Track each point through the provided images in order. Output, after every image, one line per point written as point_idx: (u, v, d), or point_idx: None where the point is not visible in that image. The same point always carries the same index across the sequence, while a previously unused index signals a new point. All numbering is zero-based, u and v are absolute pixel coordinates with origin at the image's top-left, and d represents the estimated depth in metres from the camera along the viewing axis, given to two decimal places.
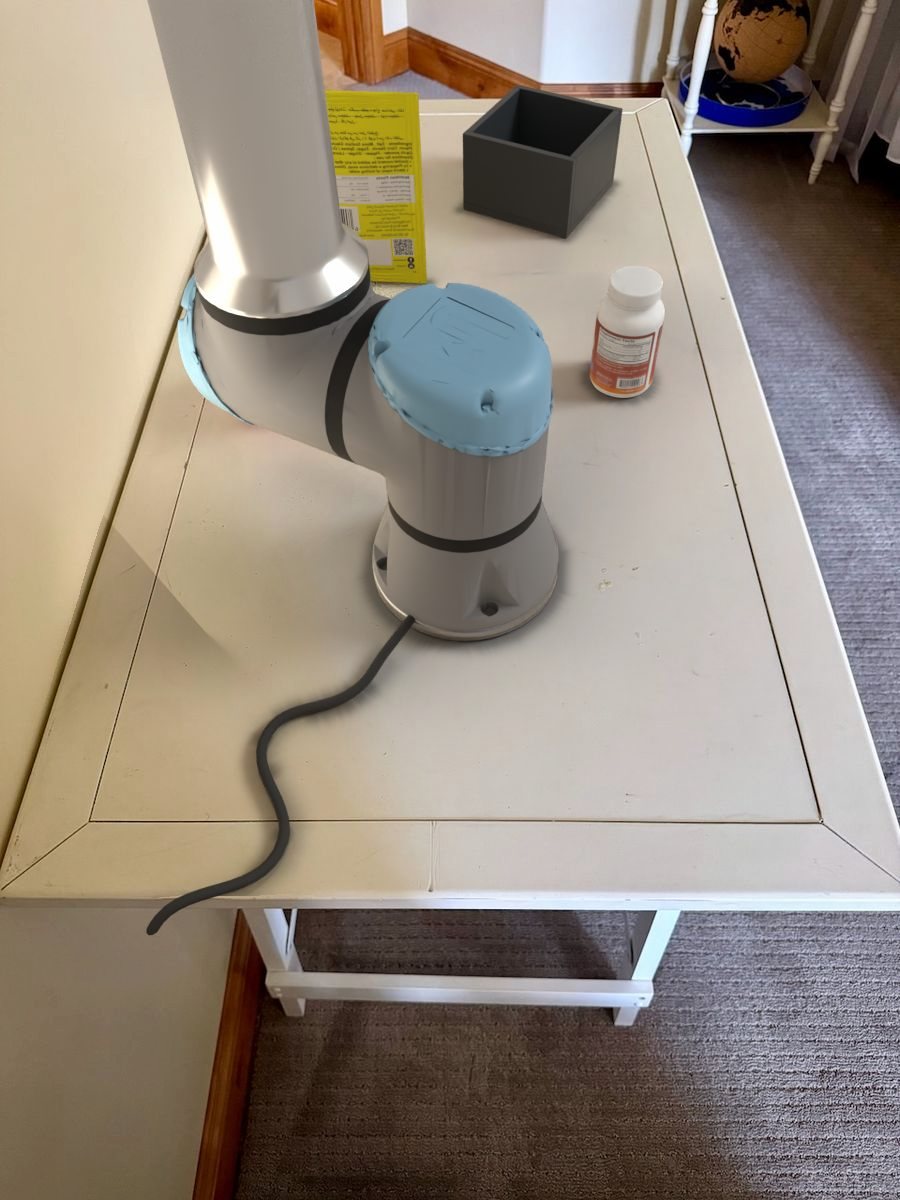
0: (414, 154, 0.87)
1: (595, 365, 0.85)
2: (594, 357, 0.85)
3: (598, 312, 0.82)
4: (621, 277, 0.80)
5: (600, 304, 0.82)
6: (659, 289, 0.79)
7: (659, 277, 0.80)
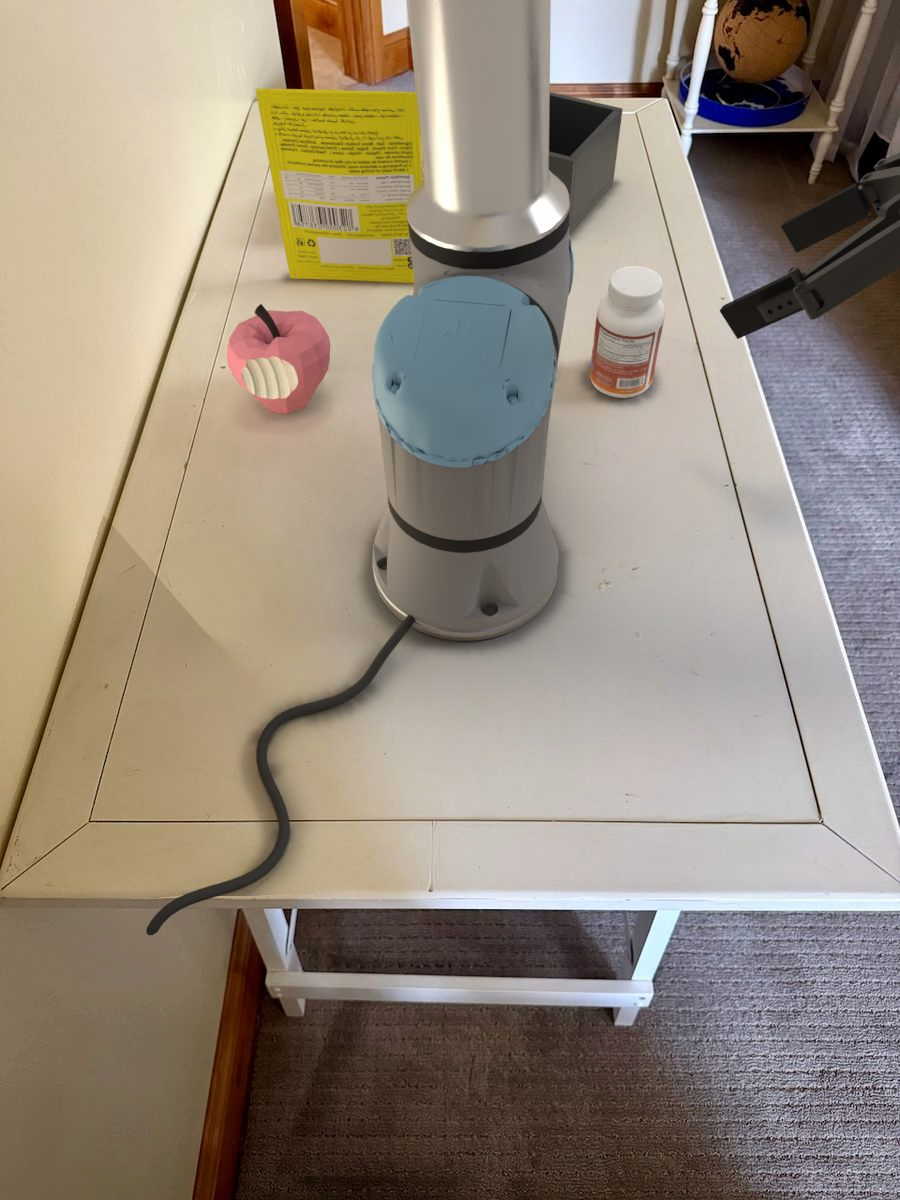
0: (414, 154, 0.87)
1: (595, 365, 0.85)
2: (594, 357, 0.85)
3: (598, 312, 0.82)
4: (621, 277, 0.80)
5: (600, 304, 0.82)
6: (659, 289, 0.79)
7: (659, 277, 0.80)
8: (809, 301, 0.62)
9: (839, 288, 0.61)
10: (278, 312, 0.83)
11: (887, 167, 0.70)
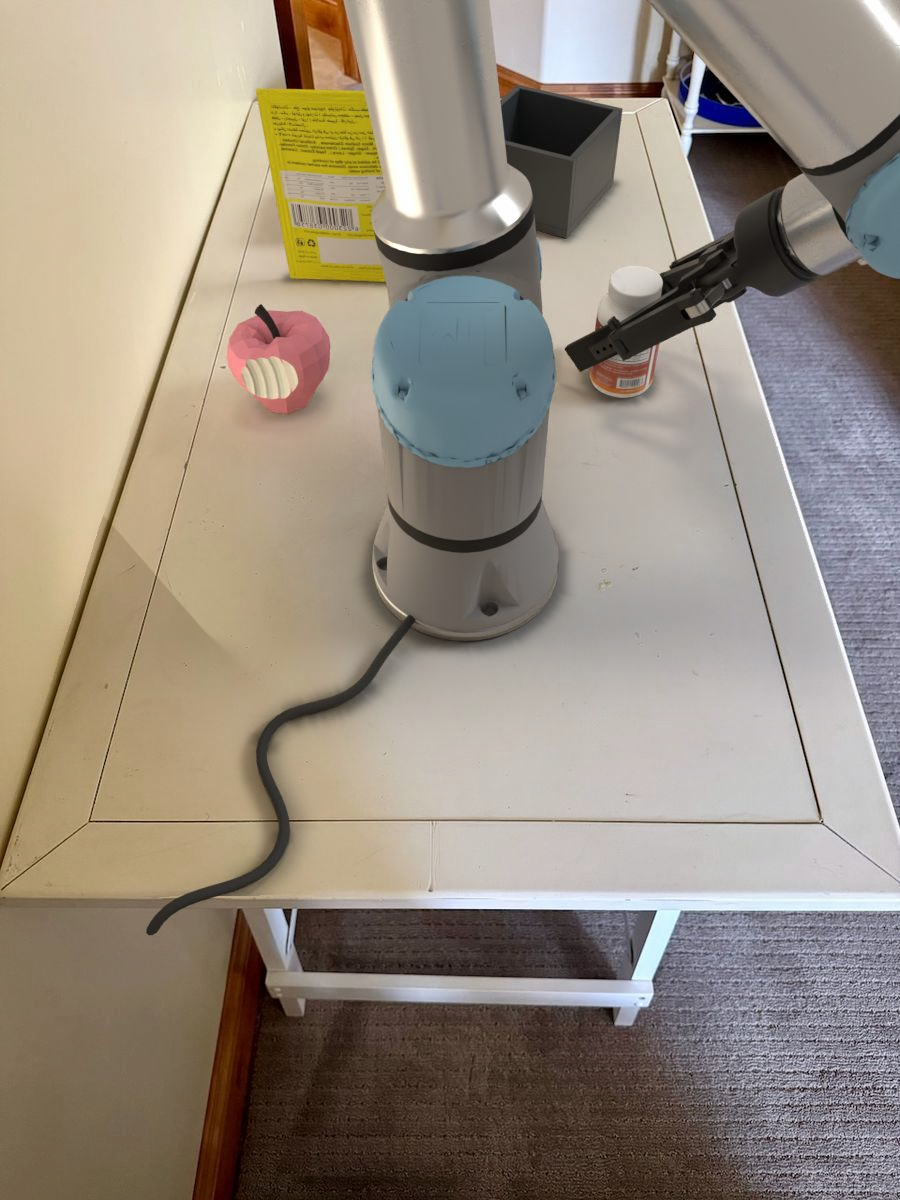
0: None
1: (595, 365, 0.85)
2: None
3: (598, 312, 0.82)
4: (621, 277, 0.80)
5: (600, 304, 0.82)
6: (659, 289, 0.79)
7: (659, 277, 0.80)
8: (617, 347, 0.77)
9: (637, 342, 0.76)
10: (278, 312, 0.83)
11: None
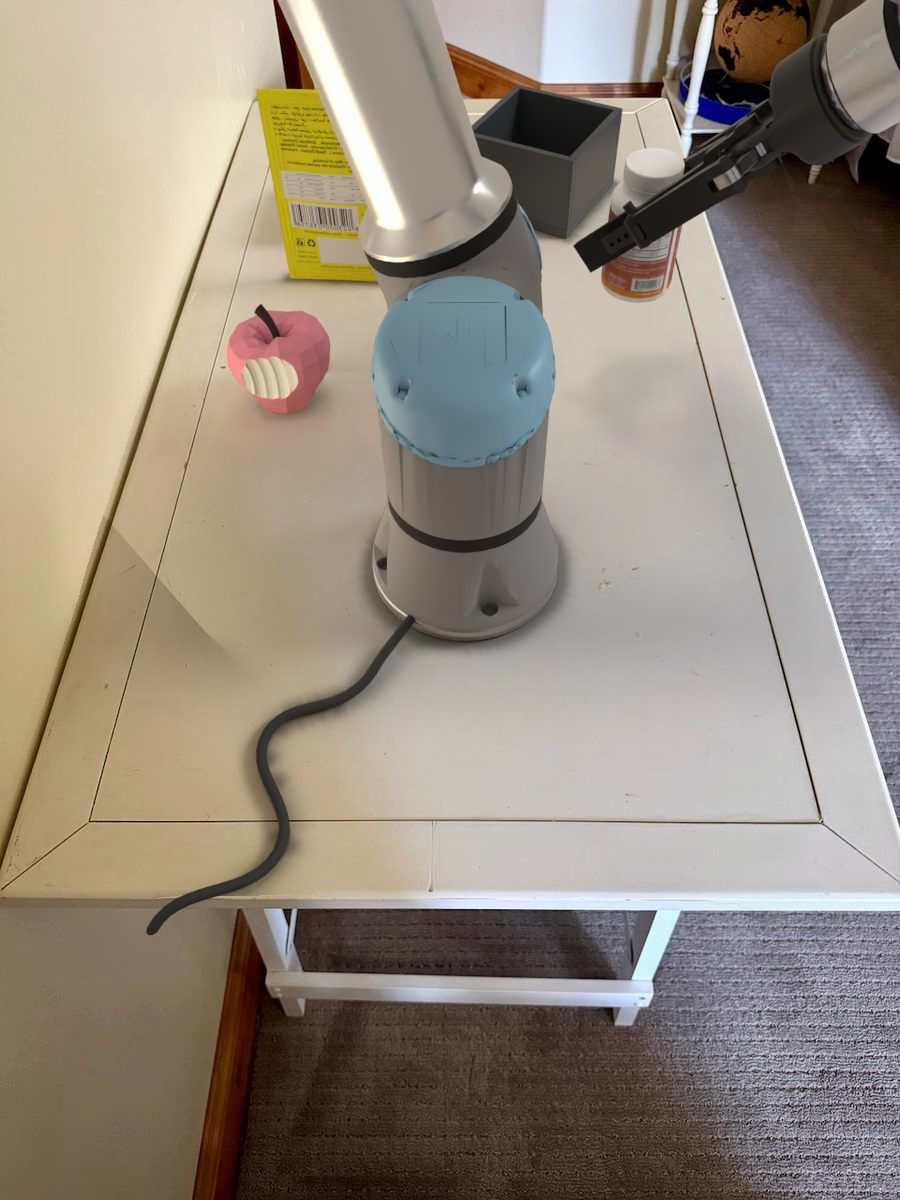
0: None
1: (608, 265, 0.77)
2: None
3: (612, 201, 0.74)
4: (638, 159, 0.71)
5: (614, 192, 0.73)
6: (681, 171, 0.70)
7: (680, 159, 0.71)
8: (634, 233, 0.69)
9: (657, 224, 0.67)
10: (278, 312, 0.83)
11: None
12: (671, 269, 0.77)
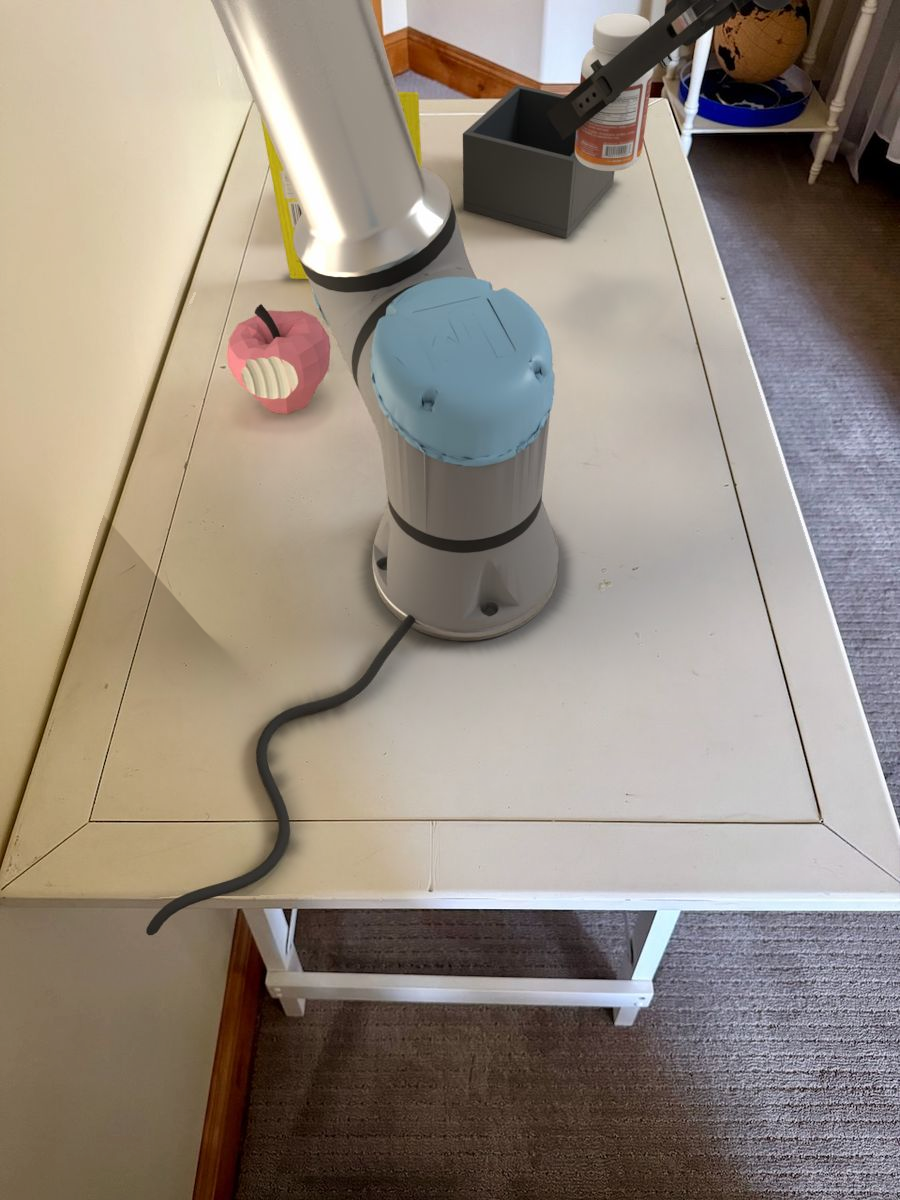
0: None
1: (580, 133, 0.80)
2: None
3: (582, 66, 0.77)
4: (607, 21, 0.75)
5: (584, 57, 0.77)
6: None
7: (647, 21, 0.75)
8: (600, 87, 0.72)
9: (621, 76, 0.71)
10: (278, 312, 0.83)
11: None
12: (641, 136, 0.80)
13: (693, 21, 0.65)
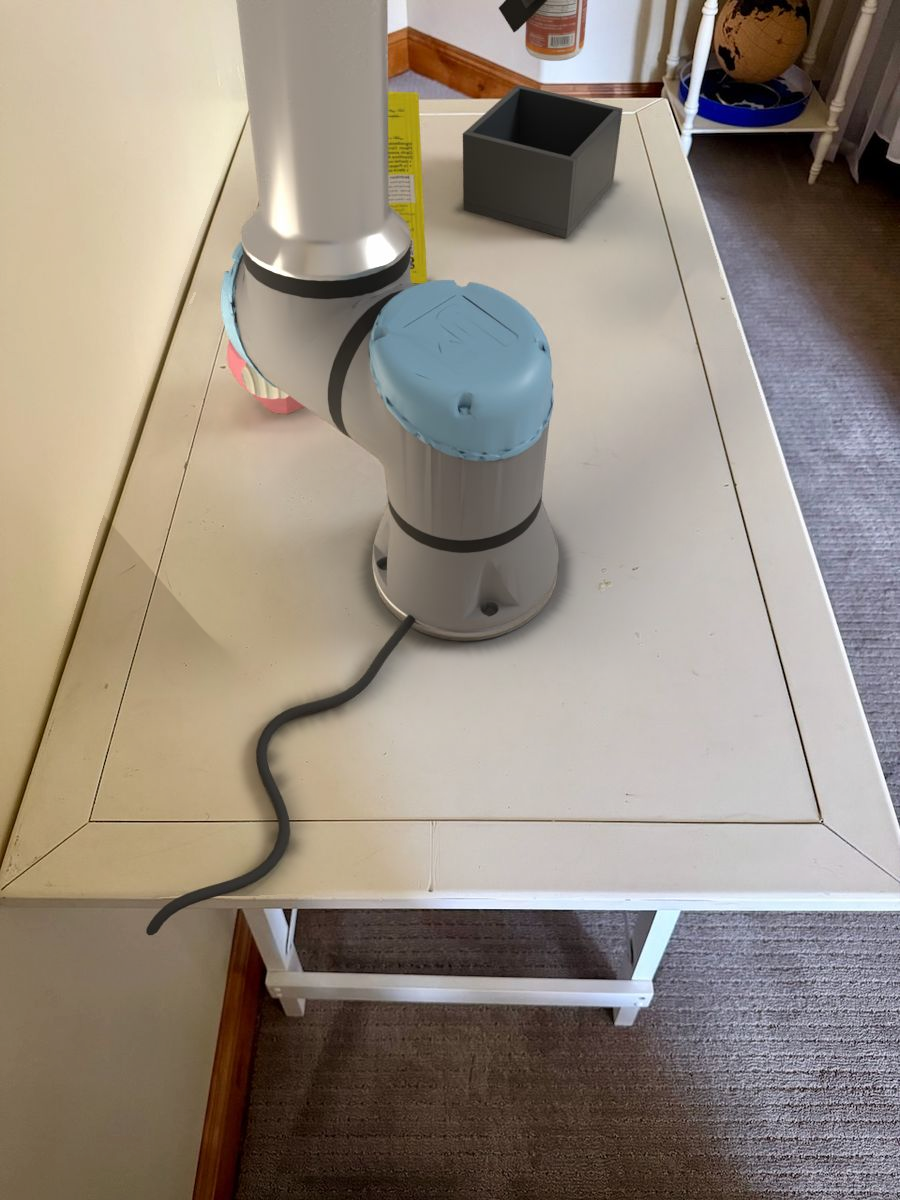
0: (414, 154, 0.87)
1: (529, 26, 0.92)
2: None
3: None
4: None
5: None
6: None
7: None
8: None
9: None
10: None
11: None
12: (581, 29, 0.92)
13: None
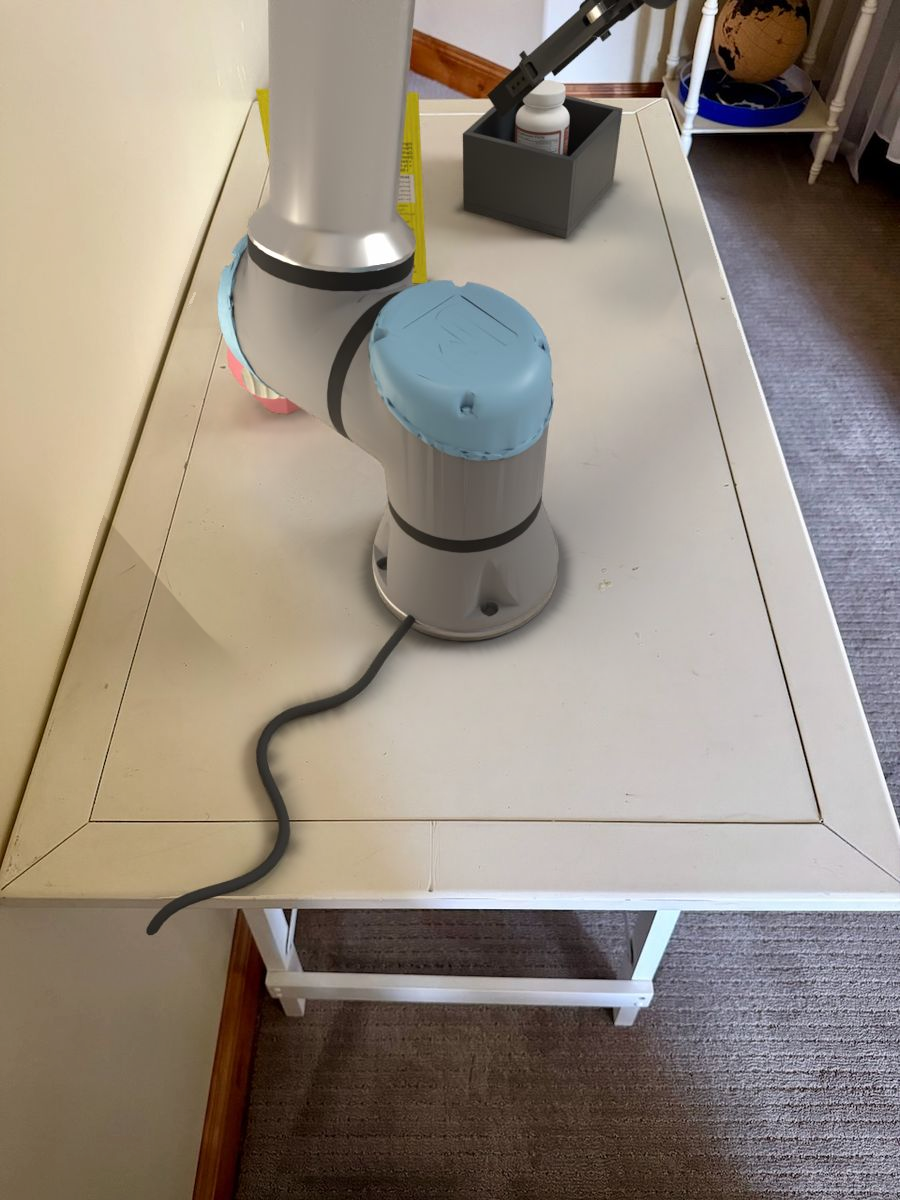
0: (414, 154, 0.87)
1: None
2: None
3: (516, 118, 1.02)
4: None
5: None
6: (562, 91, 0.99)
7: (563, 85, 1.00)
8: (528, 71, 0.89)
9: (545, 61, 0.88)
10: None
11: None
12: None
13: (605, 11, 0.84)
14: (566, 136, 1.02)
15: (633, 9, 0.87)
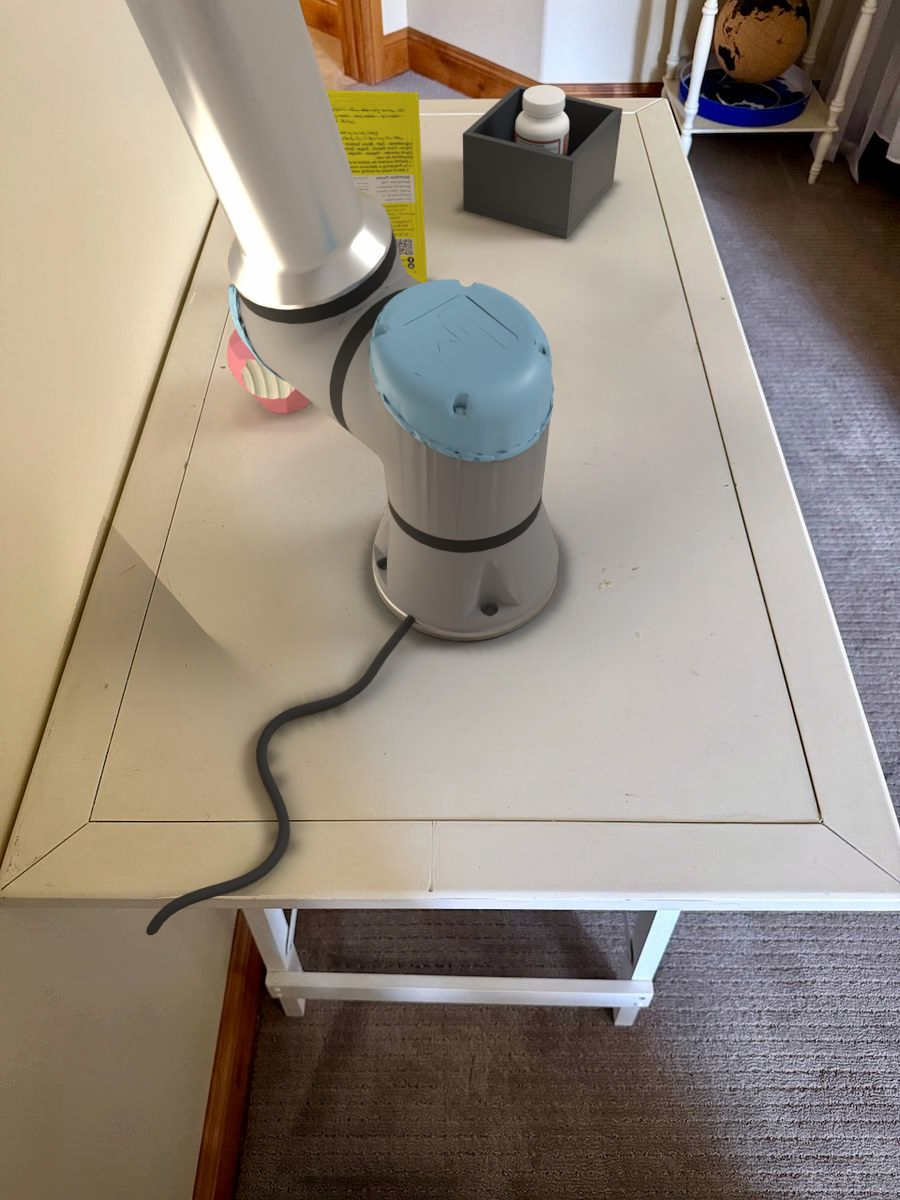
0: (414, 154, 0.87)
1: None
2: None
3: (515, 124, 1.02)
4: (532, 92, 1.00)
5: (517, 117, 1.02)
6: (561, 100, 0.98)
7: (562, 92, 0.99)
8: None
9: None
10: None
11: None
12: None
13: None
14: (566, 143, 1.02)
15: None
